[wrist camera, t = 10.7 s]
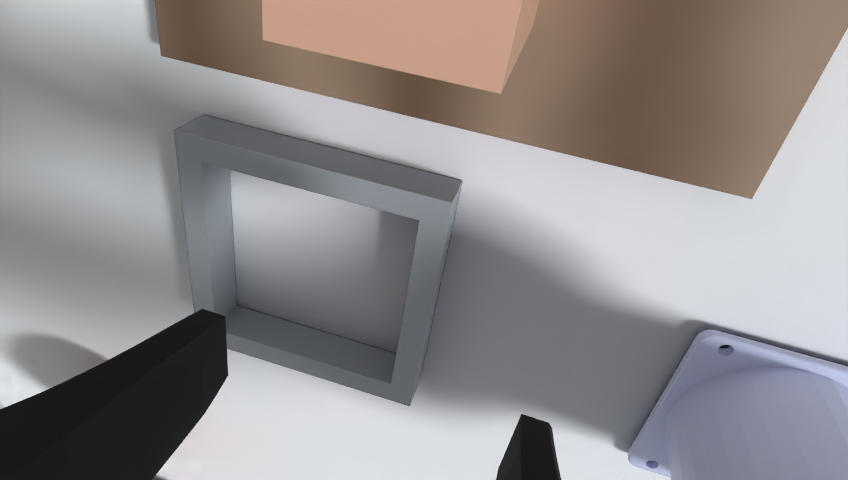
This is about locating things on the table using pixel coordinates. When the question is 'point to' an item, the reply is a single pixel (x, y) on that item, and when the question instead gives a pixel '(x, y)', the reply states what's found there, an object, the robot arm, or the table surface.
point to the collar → (332, 176)
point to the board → (581, 79)
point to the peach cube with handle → (410, 34)
